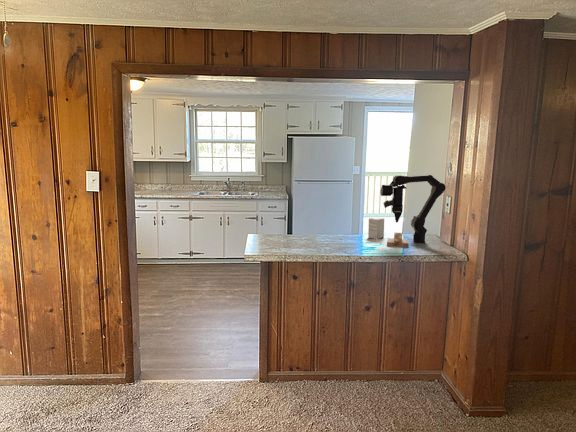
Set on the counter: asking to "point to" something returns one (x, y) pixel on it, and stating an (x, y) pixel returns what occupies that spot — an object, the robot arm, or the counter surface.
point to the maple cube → (398, 237)
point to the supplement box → (376, 228)
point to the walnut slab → (397, 243)
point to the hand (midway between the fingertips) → (396, 221)
